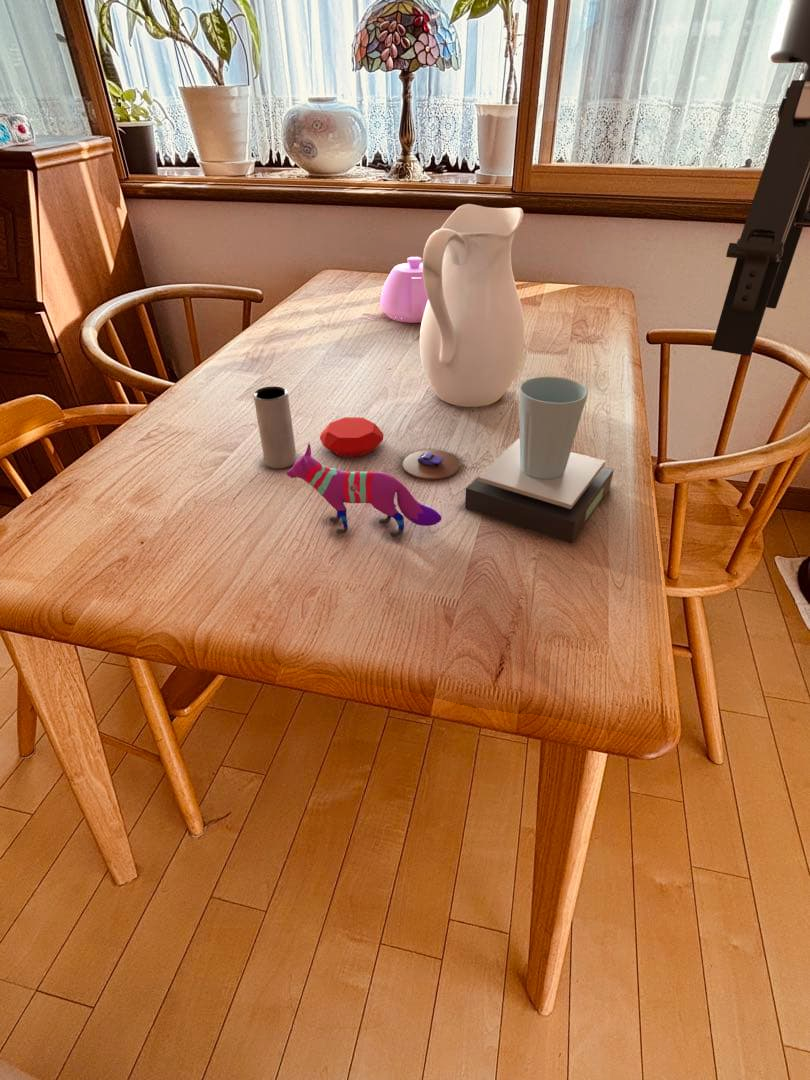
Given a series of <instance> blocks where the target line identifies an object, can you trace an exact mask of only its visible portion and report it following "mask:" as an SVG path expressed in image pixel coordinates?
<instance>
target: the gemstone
mask: <svg viewBox="0 0 810 1080" xmlns="http://www.w3.org/2000/svg"><path fill="white" fill-rule="evenodd" d="M384 437H385V435H384V433H383V432H382V430H381V429H380V427H379V426H378V425H377V424H376V423H374V422H373V421H371V420H369V419H366V418H365V417H349V416H347V417H346V416H344V417H342V418H340V419H336V420H334V421H331V422H329V424H328V425H327V426H326V427H325V429H324V430H322V432H321V433H320V435H319V440H320V442H321V443H322V446H323V447H324V448H326V449H327V450H329V451H330V452H332V453H334V454H335V455H336V456H339V457H343V458H345V457H347V458H350V457H354V458H359V457H362V456H364V455H366V454H370V453H372V452H373V451H375V450H376V449H377V447H378V446H379V445H380V444H381V443H382V442H383V441H384Z"/></svg>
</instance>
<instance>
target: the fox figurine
mask: <svg viewBox="0 0 810 1080" xmlns="http://www.w3.org/2000/svg"><path fill="white" fill-rule="evenodd" d="M311 447H312V446H311V443H310V442H308V443H307V448H306V450H305V453H304V454H303V455H302V456H300V457H299V458H297V460H296V461H295V463H294V464H293V465H292V467H291V468H290V469H288V471H286V472H285V475H287V476H288V477H289V478H290V479H294V478H295V479H296V478H299V479H301V480H303V481H304V482H306V483H307V484H308V485H310V486H311V487H312V488H313V489H314V490H315V491H316V492H317V493H318V494H320V495H321V497H323V498H324V500H325V501H326V502H327V503H328V504H329V505H330V506H331V507H332V508H333V509H334V510H335V511H336V516H330V518H329V521H330V522H331V523H336V522H340V521H341V523H342V526H343V528H337V529H336V531H335V533H336V534H339V535H342V534H346V533H347V532H348V531H349V526H348V519H347V517H348V516H347V513H348V512H347V510H348V509H347V507H346V506H345V503H347V504H370V505H371V506H373V508H374V509H375V510H377V511H379V512H380V513H382V514H384V515H385V516H386V517H385V518H383V517H382V518H380V519H379V520H378V524H381V525H384V524H385V525H386V524H388V523H389V522H390V521H391V520H392V519H394V520H395V522H396V524H397V527H398V530H397V531H394V530H392V531H390V532H389V536H390V537H393V538H395V537H396V538H397V537H399V536H401V535H402V534H403V533H404V531H405V520H404V519H405V518H406V519H407V520H408V521H409V522H411V523H413V524H414V525H417V526H422V527H430V526H435V525H437V524H439V523H440V522H441V521H442V519H443V518H442V516H441V514H440V513H439V512H438V511H436V510H435V509H434V508H432V507H430V506H428V505H425V504H423V503H421V502H419V501H417V500H416V498H415V497H414V496H413V494H412V493H411V492H410V490H409V489H408V488H407V487H406V485H404V484H403V483H402V482H401V481H399V480H398V479H397V478H396V477H394V476H393V475H391V474H388V473H385V472H381V471H343V470H340V469H339V468H332V467H328V466H327V465H324V464H322V463H321V462H319V461H318V460H317V459H315V458H314V457H313V456H312V448H311ZM395 497H396V502H397V505H396V504H395ZM397 506H398V509H399V511H400V512H399V511H398V509H397Z"/></svg>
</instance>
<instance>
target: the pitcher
mask: <svg viewBox="0 0 810 1080" xmlns="http://www.w3.org/2000/svg"><path fill="white" fill-rule="evenodd" d="M523 220H524V210H523V209H522V208H521V207H503V208H502V207H489V206H482V205H477V204H474V203H473V204H472V203H466V204H465V203H464V204H462V205H460V206H458V207H457V208H456V209H455V210H454V211H453V212H452V213H451V214H450V215H449V216H448V218H446V221H444V223H443V224H442V226H441V227H440V228H439V229H436V230H434V231H433V232H432V233H431V234H430V235H429V237H428V238H427V240H426V242H425V245H424V248H423V252H422V253H423V254H422V255H423V256H422V263H423V280H424V286H425V290H426V294H427V297H428V301H427V304H426V308H425V311H424V314H423V318H422V322H420V323H421V324H420V331H419V354H420V355H419V356H420V361H421V365H422V370H423V372H424V375H425V377H426V380H427V381H428V384H429V385H430V387H431V389H432V390H433V392H434V393H435V394H436V396H437V398H439V400H441V401H443V402H445V403H447V404H449V405H453V406H457V407H464V408H477V407H486V406H490V405H492V404H495V403H496V402H498V401H499V400H500V399H501V398H502V397H503V396H504V394H505V393H506V392H507V390H508V389H509V388H510V386H511V385H512V383H513V381H514V380H515V378H516V376H517V374H518V372H519V370H520V367H521V363H522V360H523V355H524V350H525V342H526V341H525V340H526V327H525V316H524V312H523V306H522V303H521V298H520V294H519V291H518V288H517V285H516V281H515V276H514V273H513V268H512V255H511V253H512V244H513V240H514V237H515V236H516V233H517V231H518V230H519V229H520V226H521V224H522V222H523Z"/></svg>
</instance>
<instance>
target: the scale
mask: <svg viewBox="0 0 810 1080" xmlns="http://www.w3.org/2000/svg"><path fill="white" fill-rule="evenodd" d="M614 471H615V470H614V468H611V467H606V460H604V459H600V458H596V457H593V456H590V455H585V454H581V453H578V452H575V451H574V452H573V451H571V452H570V455H569V459H568V462H567V466H566V469H565V472H564V474H562V475H561V476H560V477H557V478H554V479H538V478H534V477H531V476H528V475H527V474H525V473H524V472H523V471H522V470H521V468H520V437H518V438H516V440H514V442H513V443H511V444H510V445H509V446H508V447H507V448H506V449H505V450H504V451H503V452H502V453H501V454H500V455H499V456H498V457H497V458H496V459H495V460H494V461H492V463H490V464H489V465H488V467H486V468H485V469H484V470H483V471H482V472H481V473H480V474H479V475H478V476H477V477H476V478H475V479H473V481H472V482H471V483H470V484H469V485H467V486H466V488H465V498H464V501H465V502H464V509H465V510H469V511H472V512H475V513H478V514H481V515H483V516H484V515H485V516H487V517H491V518H494V519H497V520H499V521H502V522H505V523H509V524H512V525H514V526H517V527H521V528H523V529H527V530H530V531H532V532H536V533H539V534H542V535H545V536H549V537H552V538H554V539H557V540H560V541H563V542H567V543H570V544H572V543H573V542H574V540H575V539H576V537H577V536H578V534H579V533H580V532H581V530H582V529H583V528H584V526H585V525H586V524H587V522H588V520H589V519H590V518H591V517H592V515H593V513H594V512H595V510H596V509H597V508H598V507H599V505H600V503H601V502H602V501H603V500H604V499H605V496H606V495H607V493H608V492H609V490H610V489H611V485H612V480H613V475H614Z"/></svg>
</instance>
